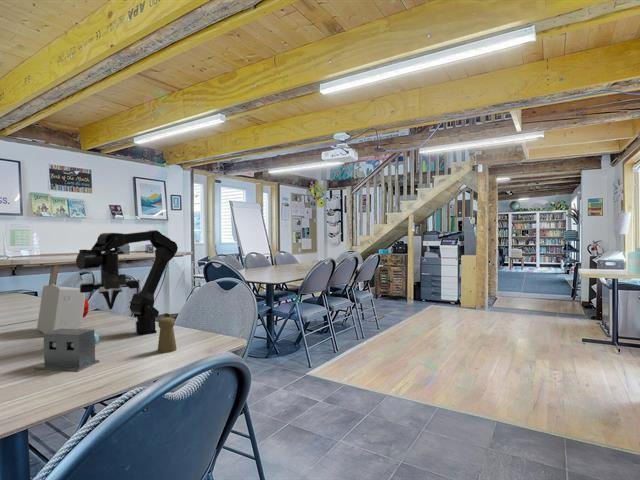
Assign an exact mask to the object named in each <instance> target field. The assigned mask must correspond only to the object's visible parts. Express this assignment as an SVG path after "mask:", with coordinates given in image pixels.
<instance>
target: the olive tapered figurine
mask: <svg viewBox="0 0 640 480" xmlns="http://www.w3.org/2000/svg"><path fill="white" fill-rule="evenodd" d="M157 324H158V328H159V334H158V335H159V336H158V342H157V353H159V354H167V353H168V354H169V353H172V352H176V351H177V344H176V337H175V331H174V330H175V329H174V326H175V324H176V322H175V319H174V317H172V316H171V317H170V316H167V317H161V318H160V319H159V320H158V323H157Z"/></svg>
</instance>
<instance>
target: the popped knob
mask: <svg viewBox="0 0 640 480" xmlns="http://www.w3.org/2000/svg"><path fill="white" fill-rule="evenodd" d="M94 336H95V346H96V345H97V344H98V343H99V342H100V335H99V334H98V332H96V331H94ZM71 347H72V348H74V342H73V343H71Z"/></svg>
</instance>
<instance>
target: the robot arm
mask: <svg viewBox="0 0 640 480" xmlns="http://www.w3.org/2000/svg"><path fill="white" fill-rule="evenodd" d="M138 242H139V243H140V242H150V244H151V246H152V247H154V248H155V249H154V250H155V251H154V255H155V259H154V262H153V264H152V266H151V269H150V271H149V273H148V275H147V277H146V279H145V282H144V285H143V286H142V289H141V290H140V292H138V293H133V295H132V298H131V300H130V302H129V310H130V312H131V313H132V314H133V317H134V318H136V321H135V332H136V334H137V335H138V336H141V335H150V334H154V333H157V330H156V318H158V317H159V314H160V311H159V309H157V308H155V307H154V305H155V292H156V290H157V288H158V286H159V283H160V281H161V278H162V276H163V274H164V271H165V269H166V267H167V264H168V263H169V262H170V261H171V260H172V259H173V258H174V257H175V256H176V254H177V252H178V249H179V247H178V244H177V242H176V241H174V240H171V238H169V237H167V236H165V235H164V234H162V233H161V232H160V231H159V230H155V229H153V230H151V229H150V230H148V231H139V232H130V233H123V232H122V233H119V232H103V233H100V234H99V235H98V237H97V240H96V242H95V243H94V245H93V246H92V248H91V249H78V251H79V253H78V254H77V255H76V259H75V263H76V267H77V268H78V269H79V270H88V269H98V268H99V267H100V283H99V284H98V283H97V284H94V282H83V283H80V285H79V288H80V293H84V294H85V293H92V292H93V291H94V290H97V292H98V294H101V295H103V298H104V299H105V301H106V304H107V306H108V309H109V310H113V308H114V304H115V302H116V298H117V297H118V294H119V293H122V292H123V289H122V288H129V289H139V288H140V282H139V280H137V279H127V277H126V276H127V275H126V274H125V273H122V274H119V273H120V272H119V255H124V253H125V251H123V250H121V247H123V246H125V245H128V244H133V243H138ZM109 290H111V291H109ZM110 292H111V293H110Z"/></svg>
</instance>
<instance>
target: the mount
mask: <svg viewBox="0 0 640 480" xmlns="http://www.w3.org/2000/svg"><path fill="white" fill-rule="evenodd" d="M94 332H95V329H92V328H91V329H87V328H86V329H85V328H79V329H58V330H54V331H51V332H47V333H43V361H44V362H43V363H40V364H39V365H36V366H33V369H34V370H44V371H45V370H47V371H50V370H51V371H66V372H80V371H82V370H83V371H84V369H87V368H89V367H91V366H94V365H95V364H98V363H100V359H96V347H95V346H96V345H95V336H94ZM53 342H56V347H55V348H54V347H53V346H52V343H53ZM73 342H74V348H72V347H71V343H73Z"/></svg>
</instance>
